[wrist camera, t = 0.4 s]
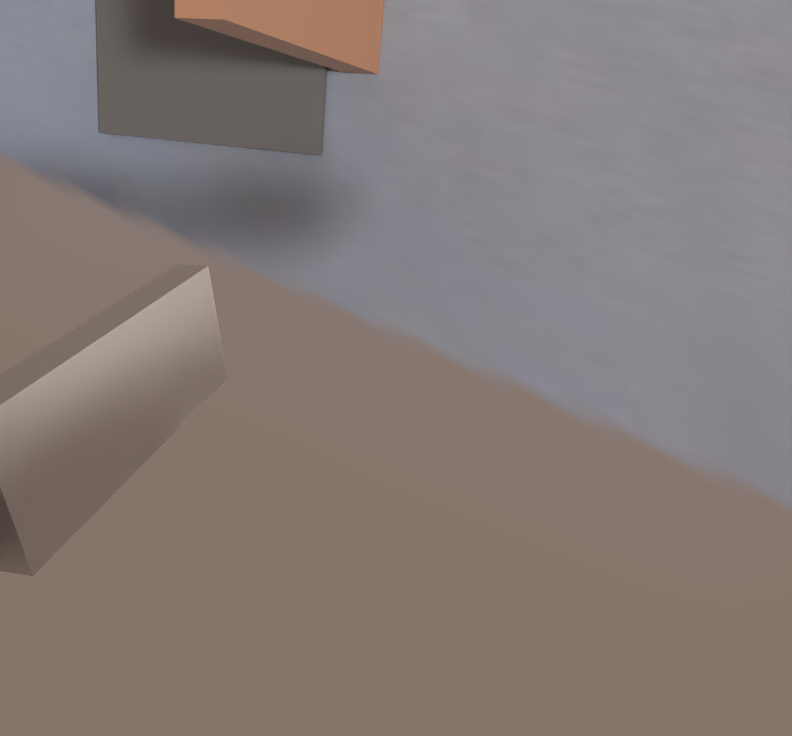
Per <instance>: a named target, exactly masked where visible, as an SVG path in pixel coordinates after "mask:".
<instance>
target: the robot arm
mask: <svg viewBox="0 0 792 736" xmlns="http://www.w3.org/2000/svg"><path fill="white" fill-rule="evenodd" d="M227 379H228V378H227V371H226V366H225V360H224V355H223V349H222V343H221V337H220V332H219V325H218V320H217V315H216V308H215V303H214V297H213V291H212V286H211V280H210V274H209V268H208V266H195V265H192V266H191V265H176V266H174V267H172V268H171V269H169V270H167V271H166V272H164V273H163V274H161V275H159V276H158V277H156V278H154V279H153V280H151V281H150V282H148V283H146V284H145V285H143V286H141V287H140V288H138V289H137V290H135V291H133V292H132V293H130V294H128V295H127V296H125V297H124V298H122V299H120V300H119V301H117V302H115V303H114V304H112V305H111V306H109V307H108V308H106V309H104V310H102V311H101V312H99V313H98V314H96V315H94V316H93V317H91V318H89V319H88V320H87V321H85V322H83V323H81V324H80V325H78V326H77V327H75V328H73V329H72V330H70V331H69V332H67V333H65V334H64V335H62V336H61V337H59V338H57V339H56V340H54V341H52V342H51V343H49V344H47V345H46V346H44V347H42V348H41V349H39V350H38V351H36V352H34V353H33V354H31V355H30V356H28V357H26V358H25V359H23V360H21V361H20V362H18V363H16V364H15V365H13V366H12V367H10V368H8V369H7V370H5V371H3V372H2V373H0V571H5V572H11V573H17V574H23V575H29V576H34V575H35V574H36V572H37V571H39V570H40V568H41V567H43V565H44V564H45V563H46V562H47V561H48V560H49V559H50V558H51V557H52V556H53V555H54V554H55V553H56V552H57V551H58V550H59V549H60V548H61V547H62V546H63V545H64V544H65V543H66V542H67V541H68V540H69V539H70V538H71V537H72V536H73V535H74V534H75V533H76V532H77V531H78V530H79V529H80V528H81V527H82V526H83V525H84V524H85V523H86V522H87V521H88V520H89V519H90V518H91V517H92V516H93V515H94V514H95V513H96V512H97V511H98V510H99V508H101V507H102V506H103V505H104V504H105V502H107V501H108V499H109V498H111V496H112V495H113V494H114V493H115V492H116V491H117V490H118V489H119V488H120V487H121V486H122V485H123V484H124V483H125V482H126V481H127V480H128V479H129V478H130V477H131V476H132V475H133V474H134V473H135V472H136V471H137V470H138V469H139V468H140V467H141V466H142V465H143V464H144V463H145V462H146V461H147V460H148V459H149V458H150V457H151V456H152V455H153V454H154V453H155V452H156V451H157V450H158V449H159V448H160V447H161V446H162V445H163V444H164V443H165V442H166V441H167V440H168V439H169V438H170V437H171V436H172V435H173V433H174V432H176V431H177V429H179V428H180V427H181V425H182V424H183V423H184V422H185V421H186V420H187V419H188V418H189V417H190V416H191V415H192V414H193V413H194V412H195V411H196V410H197V409H198V408H199V407H200V406H201V405H202V404H203V403H204V402H205V401H206V400H207V399H208V398H209V397H210V396H211V395H212V394H213V393H214V392H215V391H216V390H217V389H218V388H219V387H220V386H221V385H222V384H223V383H224V382H225V381H226V380H227Z"/></svg>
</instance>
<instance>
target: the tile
mask: <svg viewBox="0 0 792 736" xmlns="http://www.w3.org/2000/svg"><path fill="white" fill-rule="evenodd" d="M383 10H384V0H175V18H176V19H179V20H183V21H186V22H189V23H192V24H195V25H198V26H201V27H204V28H207V29H210V30H213V31H216V32H220V33H223V34H226V35H229V36H232V37H235V38H238V39H241V40H244V41H247V42H250V43H253V44H257V45H260V46H263V47H266V48H269V49H272V50H275V51H278V52H281V53H284V54H287V55H290V56H294V57H297V58H300V59H303V60H306V61H309V62H312V63H315V64H318V65H321V66H324V67H327V68H330V69H334V70H337V71H340V72H347V73H365V74H378V71H379V59H380V47H381V34H382V22H383Z"/></svg>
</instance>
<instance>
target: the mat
mask: <svg viewBox="0 0 792 736" xmlns="http://www.w3.org/2000/svg"><path fill="white" fill-rule="evenodd" d="M96 29H97V67H98V104H99V133H108V134H118V135H127V136H137V137H147V138H156V139H166V140H176V141H185V142H195V143H205V144H215V145H224V146H234V147H244V148H253V149H263V150H273V151H282V152H292V153H302V154H311V155H322V145H323V128H324V112H325V96H326V80H327V67H324V66H321V65H318V64H315V63H312V62H309V61H306V60H303V59H300V58H297V57H294V56H290V55H287V54H284V53H281V52H278V51H275V50H272V49H269V48H266V47H263V46H260V45H257V44H253V43H250V42H247V41H244V40H241V39H238V38H235V37H232V36H229V35H226V34H223V33H220V32H216V31H213V30H210V29H207V28H204V27H201V26H198V25H195V24H192V23H189V22H186V21H183V20H179V19H176V18H175V0H96Z"/></svg>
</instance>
